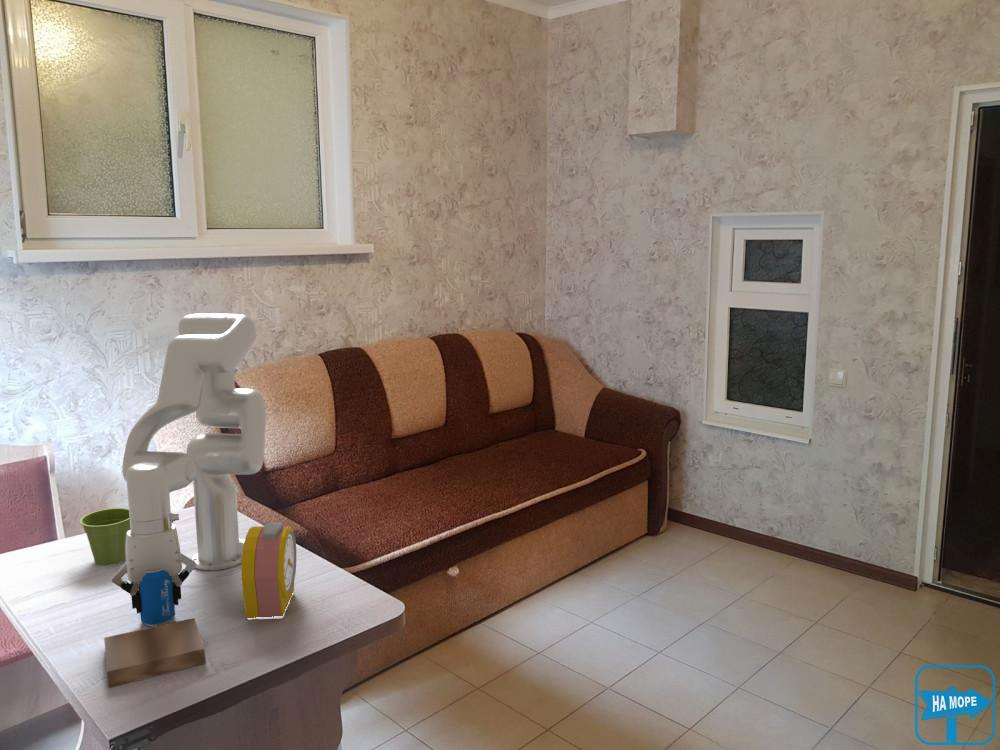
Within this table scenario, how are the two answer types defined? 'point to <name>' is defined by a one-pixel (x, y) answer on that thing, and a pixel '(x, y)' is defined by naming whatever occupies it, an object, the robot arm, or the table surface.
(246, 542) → the alarm clock
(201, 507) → the robot arm
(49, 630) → the table surface
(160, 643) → the walnut board
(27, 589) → the table surface
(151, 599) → the beverage can
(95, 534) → the plant pot
